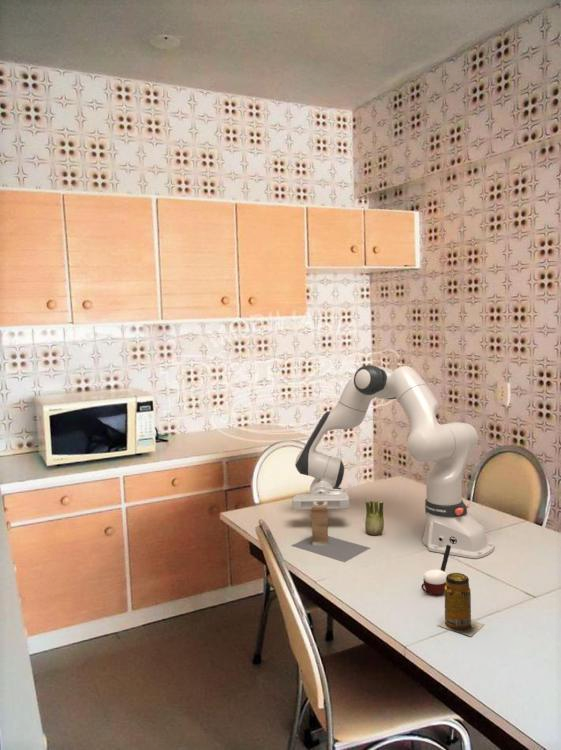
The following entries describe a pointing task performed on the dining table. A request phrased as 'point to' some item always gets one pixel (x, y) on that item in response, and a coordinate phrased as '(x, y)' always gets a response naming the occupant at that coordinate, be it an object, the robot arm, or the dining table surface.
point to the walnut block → (319, 525)
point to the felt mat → (333, 548)
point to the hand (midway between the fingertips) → (320, 509)
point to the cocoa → (436, 577)
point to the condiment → (459, 605)
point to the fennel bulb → (374, 518)
